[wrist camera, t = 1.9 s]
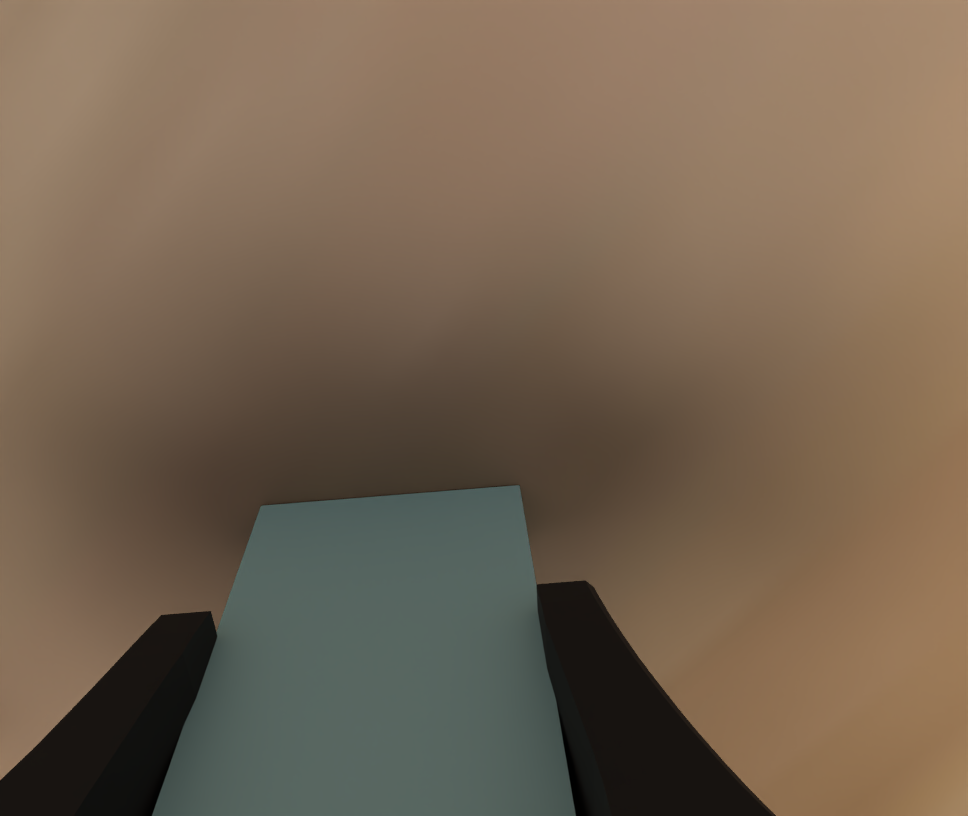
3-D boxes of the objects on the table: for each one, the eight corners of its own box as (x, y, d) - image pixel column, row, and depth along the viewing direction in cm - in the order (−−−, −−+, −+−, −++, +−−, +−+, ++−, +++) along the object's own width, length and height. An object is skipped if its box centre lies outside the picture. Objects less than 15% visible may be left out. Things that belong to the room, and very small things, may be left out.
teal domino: (522, 548, 13) (653, 1381, 5) (274, 568, 13) (21, 1444, 5) (518, 484, 13) (659, 1300, 5) (260, 505, 13) (-45, 1372, 5)
